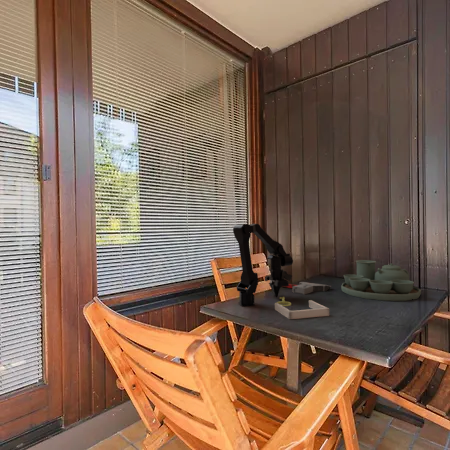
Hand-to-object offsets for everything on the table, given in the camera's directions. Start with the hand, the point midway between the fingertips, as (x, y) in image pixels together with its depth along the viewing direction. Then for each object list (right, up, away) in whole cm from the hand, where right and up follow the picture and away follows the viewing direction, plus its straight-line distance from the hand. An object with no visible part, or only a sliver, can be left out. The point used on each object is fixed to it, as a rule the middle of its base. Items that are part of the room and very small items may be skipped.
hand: (276, 296), depth 162 cm
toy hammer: (+18, -1, +24) cm, 30 cm away
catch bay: (+6, -1, -26) cm, 27 cm away
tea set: (+60, -1, +10) cm, 61 cm away
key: (+2, -1, -10) cm, 10 cm away
